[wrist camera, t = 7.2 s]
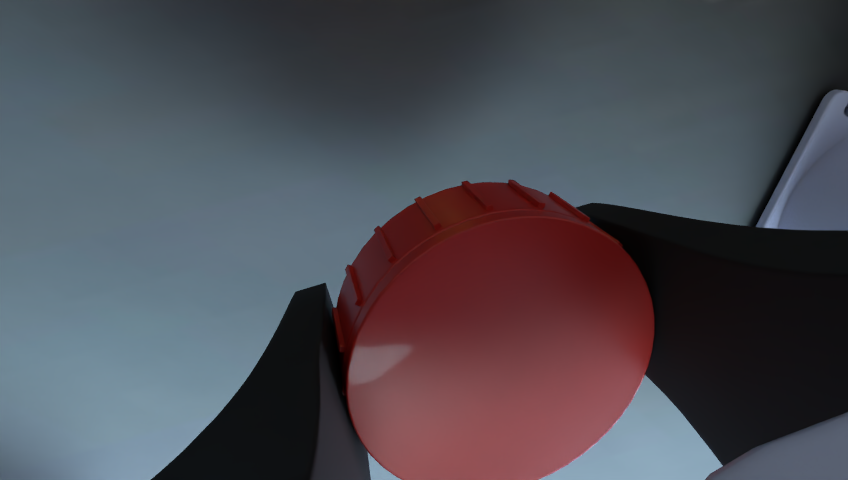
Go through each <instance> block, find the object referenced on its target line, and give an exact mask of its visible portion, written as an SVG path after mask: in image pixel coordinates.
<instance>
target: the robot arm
mask: <svg viewBox="0 0 848 480" xmlns="http://www.w3.org/2000/svg"><path fill="white" fill-rule="evenodd" d="M846 106H847V107H846ZM845 107H846V109H845ZM844 110H845V111H844ZM576 209H578V210H579V211H581V212H582V213H584V214H585V215H586V216H588V217H589V218H590V220H589V221H590V222H592V223H593V224H595V225H596V226H597V227H599V228H600V229H602V230H603V231H605V232H606V233H608V234H609V235H610V236H612V237H613V238H615V239H616V240H618V241H619V242H620V243H621V244H622V245H623V246H622V248H623V249H624V250H625V251H626V252H627V253H628V254H629V255H630V256H631V258H632V259H633V261H634V262H635V263H636V265H637V266H638V267H639V269H640V271H641V273H642V275H643V277H644V279H645V281H646V283H647V286H648V289H649V292H650V295H651V298H652V304H653V310H654V340H653V348H652V353H651V357H650V360H649V364H648V368H647V370H646V373H645V375H646V376H647V377H648V378H649V379H650V380H651V381H652V382H653V383H654V384H655V385H656V386H657V387H658V388H659V389H660V390H661V391H662V392H663V393H664V394H665V395H666V396H667V397H668V398H669V399H670V400H671V402H672V403H673V404H674V405H675V406H676V407H677V408H678V409H679V410H680V411H681V413H682V414H683V415H684V416H685V418H686V419H687V420H688V421H689V423H690V424H691V425H692V426H693V428H694V429H695V430H696V432H697V433H698V434H699V435H700V437H701V438H702V439H703V440H704V442H705V443H706V444H707V445H708V447H709V448H710V449H711V450H712V452H713V453H714V454H715V456H716V457H717V458H718V460H719V461H720V462H721V464H722V465H723V467H721V468H719V469H718V470H716V471H714V472H713V473H711V474H710V475H709V476H708V477H707V478H706V479H705V480H848V91H844V90H837V89H835V90H832V91H830V92H829V93H827V94H826V95H825V96H824V98H823V99H822V101H821V103H820V105H819V107H818V109H817V110H816V112H815V114H814V116H813V118H812V120H811V122H810V124H809V126H808V128H807V130H806V131H805V133H804V135H803V137H802V139H801V141H800V143H799V145H798V147H797V149H796V151H795V152H794V154H793V156H792V158H791V160H790V162H789V164H788V166H787V168H786V170H785V172H784V173H783V175H782V177H781V179H780V181H779V183H778V185H777V187H776V189H775V191H774V193H773V194H772V196H771V198H770V200H769V202H768V204H767V206H766V208H765V210H764V212H763V213H762V215H761V217H760V219H759V221H758V223H757V225H756V227H749V226H740V225H731V224H724V223H716V222H709V221H702V220H696V219H690V218H683V217H678V216H672V215H667V214H661V213H656V212H650V211H645V210H640V209H634V208H629V207H623V206H617V205H610V204H601V203H590V204H586V205H583V206H580V207H576ZM332 308H333V304H332V301H331V298H330V295H329V292H328V289H327V286H326V283H323V284H320V285H317V286H313V287H310V288H307V289H303V290H300V291H297V292H295V294H294V296H293V297H292V299H291V301H290V303H289V305H288V308H287V310H286V312H285V314H284V316H283V318H282V320H281V322H280V324H279V326H278V328H277V330H276V332H275V333H274V335H273V337H272V339H271V341H270V343H269V344H268V346H267V348H266V350H265V352H264V353H263V355H262V356H261V358H260V360H259V361H258V363H257V364H256V366H255V367H254V369H253V371H252V372H251V374H250V375H249V377H248V378H247V379H246V381H245V382H244V384H243V385H242V386H241V388H240V389H239V390H238V391H237V393H236V394H235V395H234V396H233V398H232V399H231V400H230V401H229V403H228V404H227V405H226V406H225V407H224V409H223V410H222V411H221V412H220V413H219V414H218V416H217V417H216V418H215V419H214V420H213V421H212V422H211V423H210V424H209V425H208V426H207V427H206V428H205V429H204V430H203V431H202V432H201V433H200V434H199V435H198V436H197V437H196V438H195V439H194V440H193V441H192V442H191V443H190V445H189V446H188V447H187V448H186V449H185V450H184V451H183V452H182V453H180V454H179V455H178V456H177V457H176V458H175V459H174V460H173V461H172V462H171V463H169V464H168V465H167V466H166V467H165V468H164V469H163V470H162V471H161V472H159V473H158V474H157V475H156V476H155V477H154V478H152V479H151V480H371V479H370V470H369V461H368V453H367V450H366V448H365V447H364V445H363V444H362V443H361V441H360V439H359V437H358V435H357V433H356V431H355V429H354V427H353V425H352V422H351V418H350V415H349V412H348V408H347V403H346V396H344V395H343V392H342V374H341V368H340V361H339V355H338V349H337V341H336V334H335V329H334V323H333V318H332V313H331V312H332Z"/></svg>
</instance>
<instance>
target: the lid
mask: <svg viewBox="0 0 848 480" xmlns="http://www.w3.org/2000/svg"><path fill="white" fill-rule="evenodd" d="M415 201H416V203H414V204H412V205H410V206H408V207H407V208H405V209H404V210H403V211H401V212H400V213H398V214H397V215H396V216H394V217H393V218H391V219H390V220H389V221H388V222H387V223H386V224H385V225H384V226H382V227H379V226H377V227H376V228H375V229H374V231H375V234H374V235H373V236H372V238H371V239H370V240H369V241H368V242H367V243H366V245H365V246H364V247H363V248H362V250H361V251H360V253H359V254H358V256H357V257H356V259H355V260H354V262H353V263H352V265H347V267H346V269H345V270H346V274H347V276H346V278H345V280H344V282H343V285H342V288H341V291H340V294H339V297H338V302H337V308H334V307H333V308H332V312H331V313H332V318H333V323H334V329H335V334H336V341H337V349H338V355H339V361H340V368H341V374H342V392H343V395H344V396H346V403H347V408H348V412H349V415H350V418H351V422H352V425H353V427H354V429H355V431H356V433H357V435H358V437H359V439H360V441H361V443H362V444H363V445H364V447H365V448H366V450H367V451H368V452H369V454H370V455H371V456H372V457H373V458H374V459H375V460H376V461H377V462H378V463H379V464H380V465H381V466H382V467H383V468H385V469H386V470H388V471H389V472H391V473H392V474H393V475H395V476H396V477H398V478H400V479H402V480H539V479H541V478H543V477H546V476H548V475H550V474H552V473H554V472H556V471H557V470H559V469H561V468H563V467H565V466H566V465H568V464H569V463H571V462H572V461H574V460H575V459H577V458H578V457H580V456H581V455H583V454H584V453H585V452H586V451H587V450H589V449H590V448H591V447H592V446H593V445H595V444H596V443H597V442H598V441H599V440H600V439H601V438H602V437H603V436H604V435H605V434H606V433H607V432H608V431H609V430H610V429H611V428H612V427H613V426H614V424H615V423H616V422H617V421H618V419H619V418H620V417H621V416H622V415H623V413H624V412H625V410H626V409H627V407H628V406H629V404H630V403H631V401H632V400H633V398H634V396H635V394H636V392H637V390H638V389H639V387H640V385H641V383H642V380H643V378H644V375H645V373H646V370H647V368H648V364H649V360H650V357H651V353H652V348H653V340H654V310H653V304H652V298H651V295H650V292H649V289H648V286H647V283H646V281H645V279H644V277H643V275H642V273H641V271H640V269H639V267H638V266H637V265H636V263H635V262H634V261H633V259H632V258H631V256H630V255H629V254H628V253H627V252H626V251H625V250H624V249H623V248H622V246H623V245H622V244H621V243H620V242H619V241H618V240H616V239H615V238H613V237H612V236H610V235H609V234H608V233H606V232H605V231H603V230H602V229H600V228H599V227H597V226H596V225H595V224H593V223H592V222H590V221H589V220H590V218H589V217H588V216H586V215H585V214H584V213H582V212H581V211H579V210H578V209H576V208H575V207H573V206H572V205H570V204H569V203H567V202H566V201H565V200H563V199H562V198H560V197H559V196H557V195H556V194H554V193H552V192H550V194H549V195H546V194H544V193H542V192H540V191H537V190H534V189H531V188H528V187H524V186H521V185H520V184H519V183H517V182H516V181H515V180H509V182H508V183H492V182H483V183H474V184H470V183H469V182H468V181H464V182H462V185H461V186H457V187H453V188H449V189H445V190H443V191H440V192H438V193H435V194H432V195H430V196H427V197H425V198H423V199H422V198H421V197H418V198H416V199H415Z"/></svg>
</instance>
